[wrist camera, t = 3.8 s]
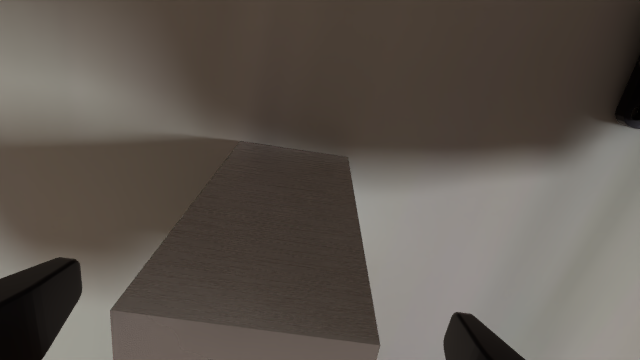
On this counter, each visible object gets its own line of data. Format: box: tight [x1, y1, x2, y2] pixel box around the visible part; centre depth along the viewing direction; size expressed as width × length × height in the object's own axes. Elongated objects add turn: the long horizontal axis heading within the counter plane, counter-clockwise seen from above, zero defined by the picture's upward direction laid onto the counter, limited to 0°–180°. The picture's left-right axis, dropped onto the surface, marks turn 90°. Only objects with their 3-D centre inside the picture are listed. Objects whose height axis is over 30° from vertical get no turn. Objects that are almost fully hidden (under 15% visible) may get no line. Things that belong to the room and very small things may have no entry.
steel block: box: [110, 141, 380, 360], centre depth 11 cm, size 4×4×9 cm
